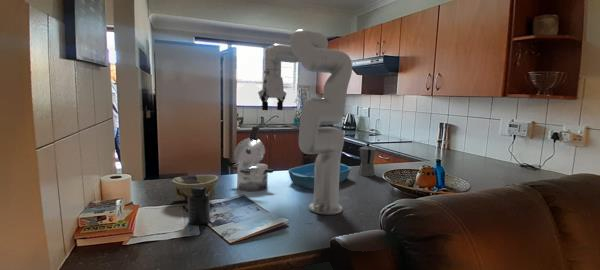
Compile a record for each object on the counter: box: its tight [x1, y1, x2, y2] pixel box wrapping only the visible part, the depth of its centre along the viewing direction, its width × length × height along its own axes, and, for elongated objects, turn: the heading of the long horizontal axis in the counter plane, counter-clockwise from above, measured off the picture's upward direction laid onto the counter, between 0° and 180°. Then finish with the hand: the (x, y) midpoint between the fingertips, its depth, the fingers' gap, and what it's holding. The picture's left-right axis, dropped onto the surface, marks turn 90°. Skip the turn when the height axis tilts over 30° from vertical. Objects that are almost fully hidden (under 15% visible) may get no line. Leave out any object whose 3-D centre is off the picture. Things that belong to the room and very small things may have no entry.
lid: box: [233, 126, 266, 168], centre depth 148 cm, size 20×15×2 cm
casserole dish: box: [288, 162, 352, 190], centre depth 166 cm, size 37×22×7 cm, turn 140°
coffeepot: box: [357, 142, 377, 177], centre depth 182 cm, size 15×9×18 cm, turn 175°
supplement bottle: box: [187, 185, 211, 226], centre depth 109 cm, size 7×7×12 cm
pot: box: [232, 162, 274, 192], centre depth 151 cm, size 15×20×10 cm
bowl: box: [171, 174, 219, 203], centre depth 130 cm, size 18×18×10 cm
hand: (272, 110), depth 156 cm, fingers open, 9 cm apart
